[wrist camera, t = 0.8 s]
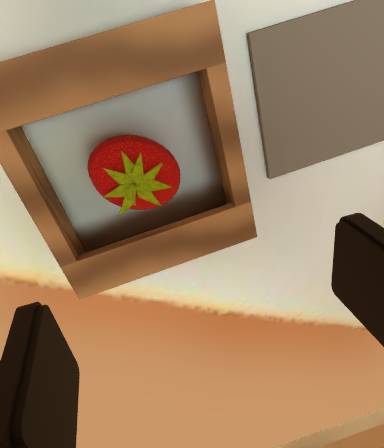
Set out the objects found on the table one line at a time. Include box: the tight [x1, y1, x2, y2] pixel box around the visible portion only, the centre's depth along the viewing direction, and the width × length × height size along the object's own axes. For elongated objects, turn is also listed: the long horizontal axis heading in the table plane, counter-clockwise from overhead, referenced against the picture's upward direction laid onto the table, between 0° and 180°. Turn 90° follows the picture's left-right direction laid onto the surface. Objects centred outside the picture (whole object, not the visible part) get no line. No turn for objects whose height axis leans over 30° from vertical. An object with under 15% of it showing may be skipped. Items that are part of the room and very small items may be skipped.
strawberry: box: [88, 135, 180, 215], centre depth 28 cm, size 6×8×10 cm
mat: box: [247, 0, 384, 179], centre depth 33 cm, size 14×14×1 cm
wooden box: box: [0, 0, 257, 299], centre depth 30 cm, size 20×18×6 cm
